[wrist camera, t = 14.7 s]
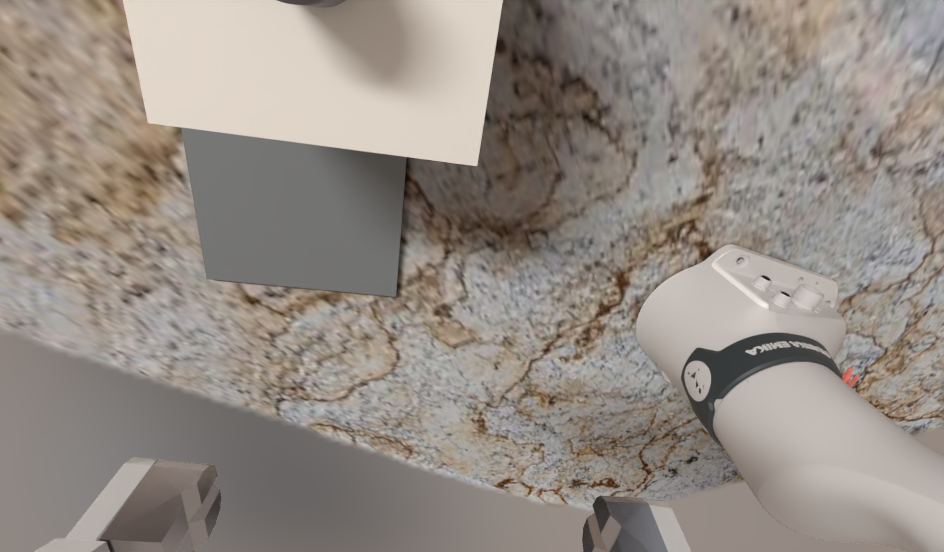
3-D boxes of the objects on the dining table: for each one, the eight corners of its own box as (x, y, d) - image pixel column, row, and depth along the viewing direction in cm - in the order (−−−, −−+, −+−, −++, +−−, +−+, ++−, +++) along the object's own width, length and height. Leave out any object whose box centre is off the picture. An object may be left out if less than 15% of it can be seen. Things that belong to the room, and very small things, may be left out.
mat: (409, 126, 39) (408, 127, 38) (396, 293, 48) (395, 296, 47) (179, 93, 37) (175, 94, 36) (209, 276, 45) (206, 278, 45)
